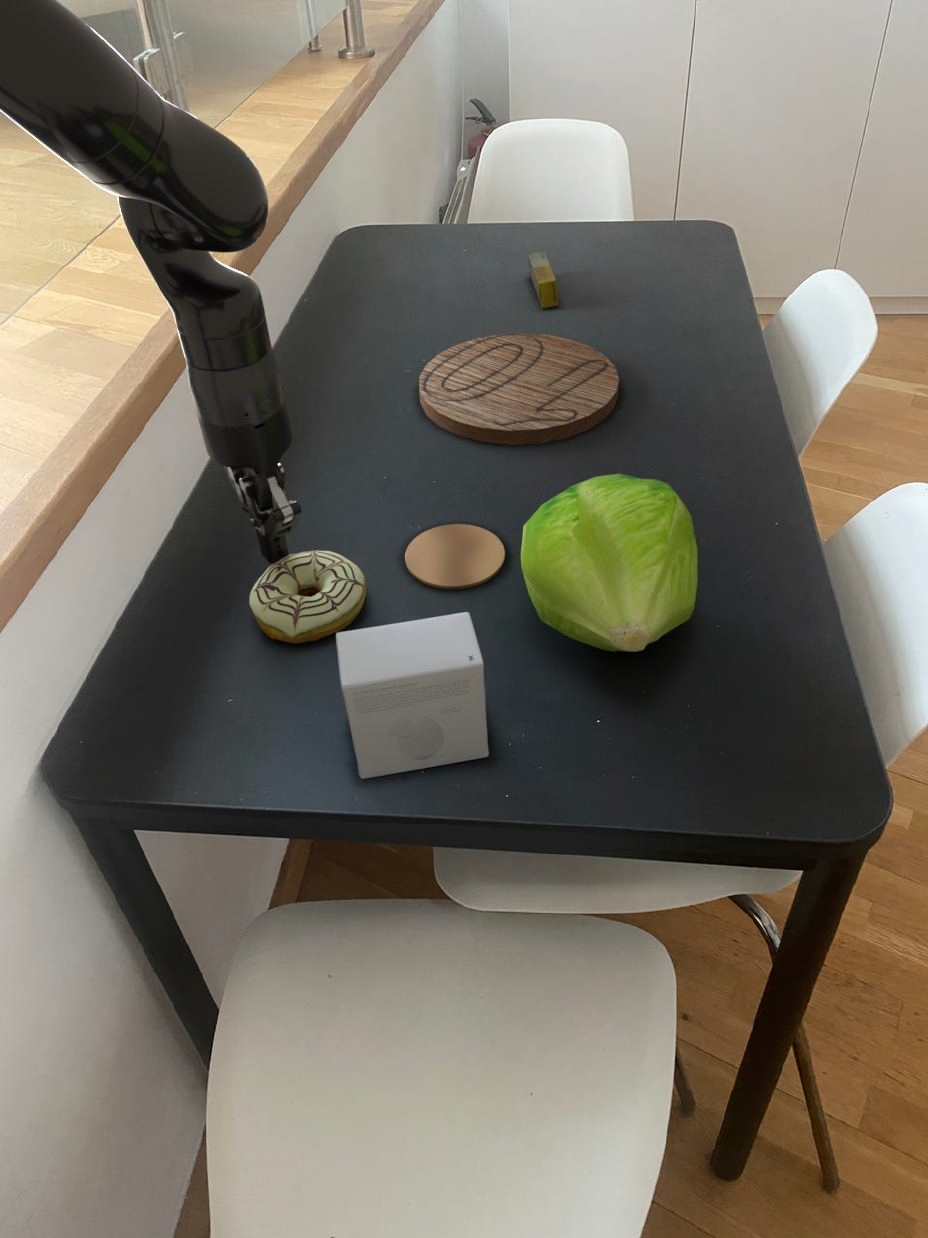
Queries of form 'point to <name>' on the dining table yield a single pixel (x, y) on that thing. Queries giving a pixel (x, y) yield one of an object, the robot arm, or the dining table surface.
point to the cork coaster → (455, 556)
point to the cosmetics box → (414, 694)
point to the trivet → (518, 388)
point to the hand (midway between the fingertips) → (276, 557)
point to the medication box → (543, 279)
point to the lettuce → (612, 562)
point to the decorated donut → (302, 575)
